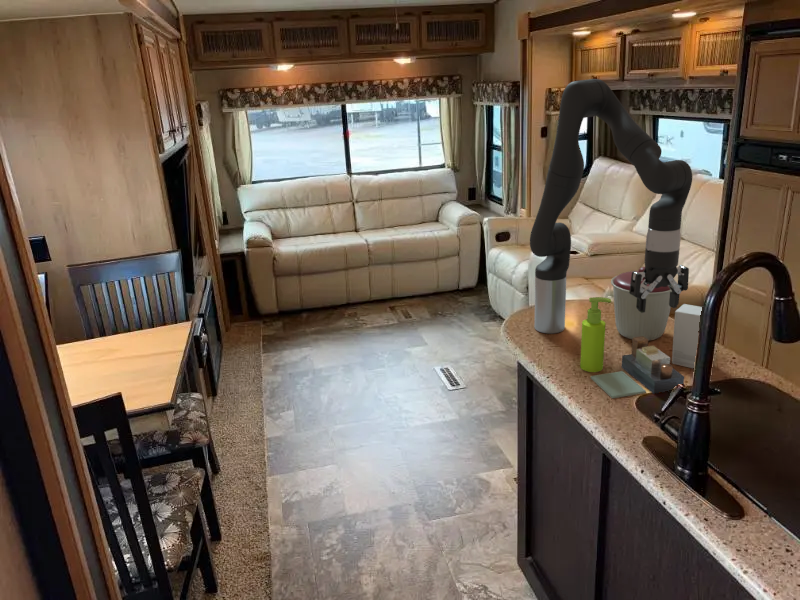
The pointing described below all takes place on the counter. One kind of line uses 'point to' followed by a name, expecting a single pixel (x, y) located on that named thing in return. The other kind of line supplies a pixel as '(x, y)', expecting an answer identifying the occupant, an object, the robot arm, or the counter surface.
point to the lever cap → (651, 358)
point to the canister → (633, 320)
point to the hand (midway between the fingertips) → (657, 309)
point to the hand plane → (650, 380)
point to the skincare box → (686, 335)
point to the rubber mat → (617, 384)
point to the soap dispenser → (593, 338)
